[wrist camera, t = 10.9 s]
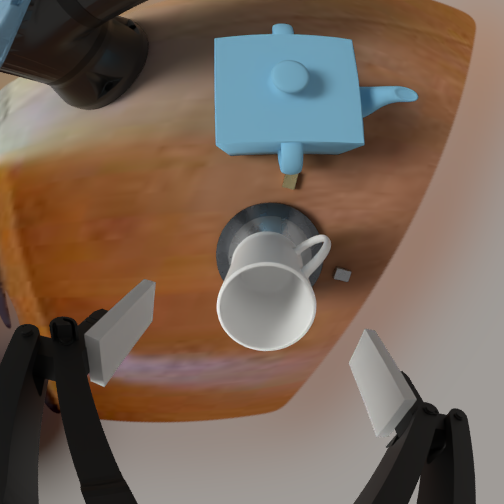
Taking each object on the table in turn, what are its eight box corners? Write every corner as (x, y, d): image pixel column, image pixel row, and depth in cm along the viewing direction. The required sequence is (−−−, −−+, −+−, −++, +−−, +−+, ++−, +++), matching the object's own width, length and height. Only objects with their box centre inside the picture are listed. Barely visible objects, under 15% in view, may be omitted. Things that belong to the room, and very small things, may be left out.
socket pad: (238, 158, 31) (237, 158, 30) (371, 196, 32) (375, 197, 31) (203, 315, 37) (202, 319, 36) (322, 342, 37) (323, 346, 36)
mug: (299, 201, 31) (318, 212, 20) (337, 260, 33) (370, 299, 21) (217, 257, 33) (192, 296, 22) (257, 310, 35) (253, 368, 23)
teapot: (233, 178, 32) (212, 176, 20) (229, 61, 28) (210, 7, 16) (378, 178, 31) (433, 180, 19) (368, 65, 27) (409, 22, 15)
